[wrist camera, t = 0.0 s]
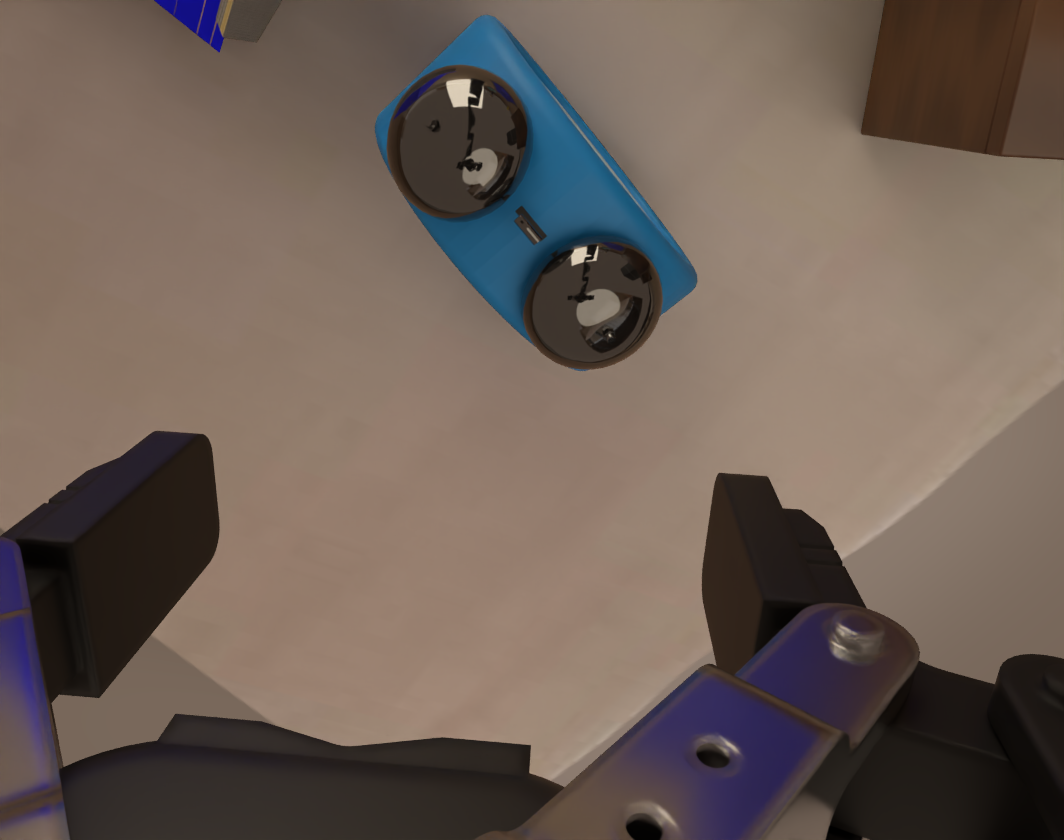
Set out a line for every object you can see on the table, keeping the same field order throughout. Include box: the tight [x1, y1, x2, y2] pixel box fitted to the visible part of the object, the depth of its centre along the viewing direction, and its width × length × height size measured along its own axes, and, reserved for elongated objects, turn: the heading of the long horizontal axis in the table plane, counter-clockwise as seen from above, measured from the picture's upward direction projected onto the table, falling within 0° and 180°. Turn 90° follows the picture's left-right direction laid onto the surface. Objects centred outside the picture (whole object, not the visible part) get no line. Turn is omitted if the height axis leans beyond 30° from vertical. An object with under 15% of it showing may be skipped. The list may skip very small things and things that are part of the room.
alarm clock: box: [375, 15, 697, 371], centre depth 33 cm, size 13×6×15 cm, turn 41°
